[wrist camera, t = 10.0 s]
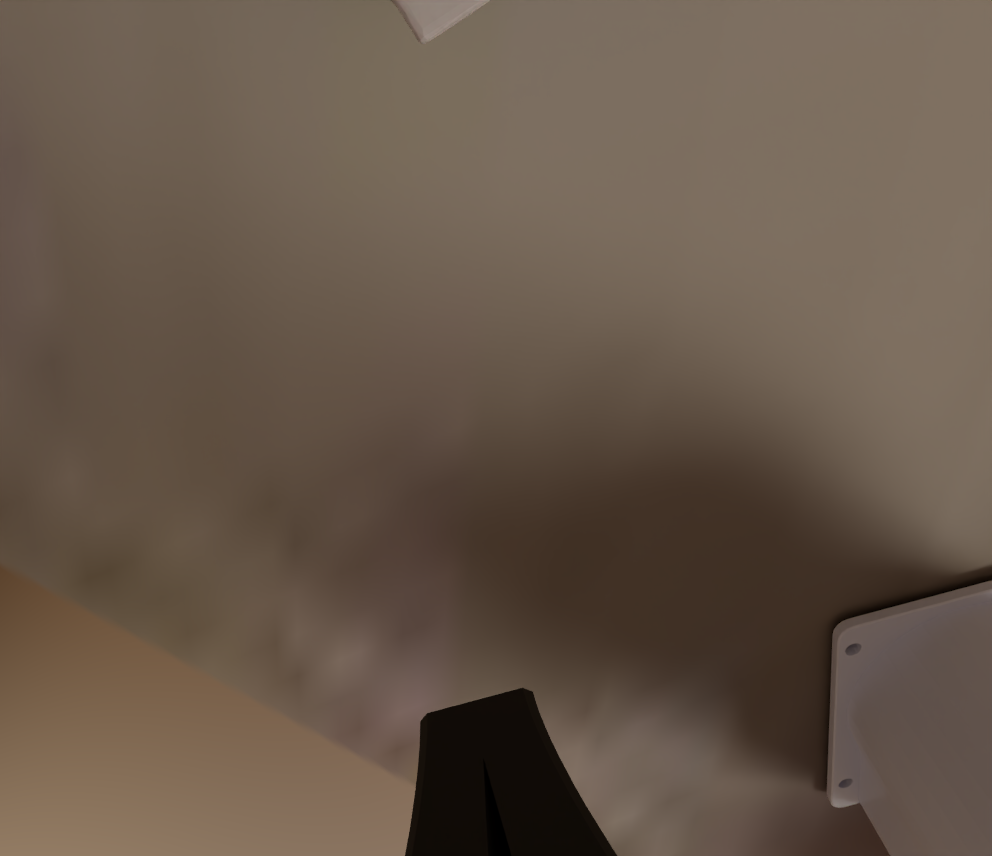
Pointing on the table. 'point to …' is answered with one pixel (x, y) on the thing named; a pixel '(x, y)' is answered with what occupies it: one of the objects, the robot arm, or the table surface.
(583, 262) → the table surface
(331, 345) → the table surface
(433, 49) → the table surface
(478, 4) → the supplement box
